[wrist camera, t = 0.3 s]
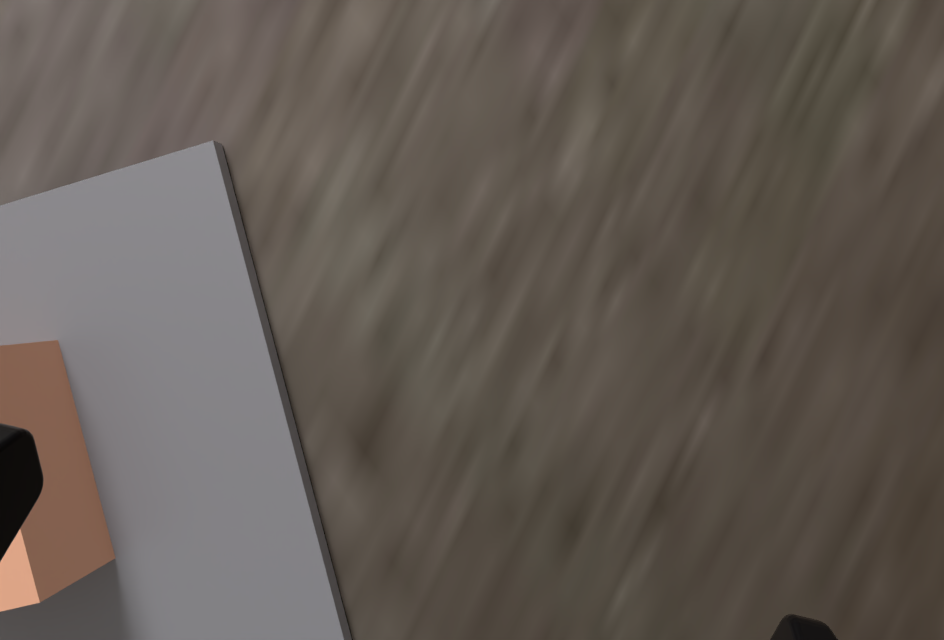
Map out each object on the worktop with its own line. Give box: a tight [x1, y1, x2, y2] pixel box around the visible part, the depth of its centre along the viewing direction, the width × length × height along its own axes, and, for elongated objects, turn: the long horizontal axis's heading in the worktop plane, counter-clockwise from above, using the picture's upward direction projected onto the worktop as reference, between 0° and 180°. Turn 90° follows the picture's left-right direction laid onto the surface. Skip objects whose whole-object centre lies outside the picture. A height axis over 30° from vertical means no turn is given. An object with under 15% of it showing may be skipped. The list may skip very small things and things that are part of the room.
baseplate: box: [0, 141, 352, 640], centre depth 25 cm, size 16×18×1 cm
